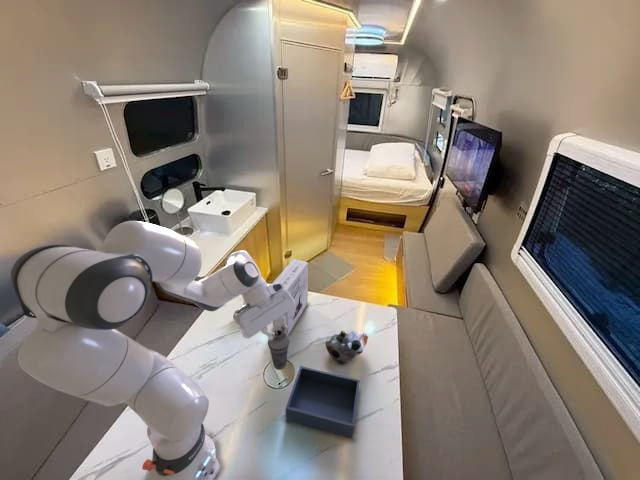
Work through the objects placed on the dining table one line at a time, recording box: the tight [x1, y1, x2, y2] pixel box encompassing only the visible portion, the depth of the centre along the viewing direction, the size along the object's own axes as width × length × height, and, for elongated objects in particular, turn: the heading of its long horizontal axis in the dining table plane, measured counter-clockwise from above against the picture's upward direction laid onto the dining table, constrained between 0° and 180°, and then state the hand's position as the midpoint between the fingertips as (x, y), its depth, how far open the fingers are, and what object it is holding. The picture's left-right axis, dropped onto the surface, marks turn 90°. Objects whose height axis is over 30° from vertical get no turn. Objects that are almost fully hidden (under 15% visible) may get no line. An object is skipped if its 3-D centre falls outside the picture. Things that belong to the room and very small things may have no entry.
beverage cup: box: [267, 322, 291, 371], centre depth 91 cm, size 7×7×20 cm
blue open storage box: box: [285, 365, 361, 440], centre depth 92 cm, size 16×22×7 cm
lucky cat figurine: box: [325, 330, 369, 364], centre depth 110 cm, size 15×12×14 cm
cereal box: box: [271, 258, 309, 335], centre depth 124 cm, size 22×8×25 cm, turn 159°
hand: (279, 334), depth 88 cm, fingers closed on beverage cup, 4 cm apart
